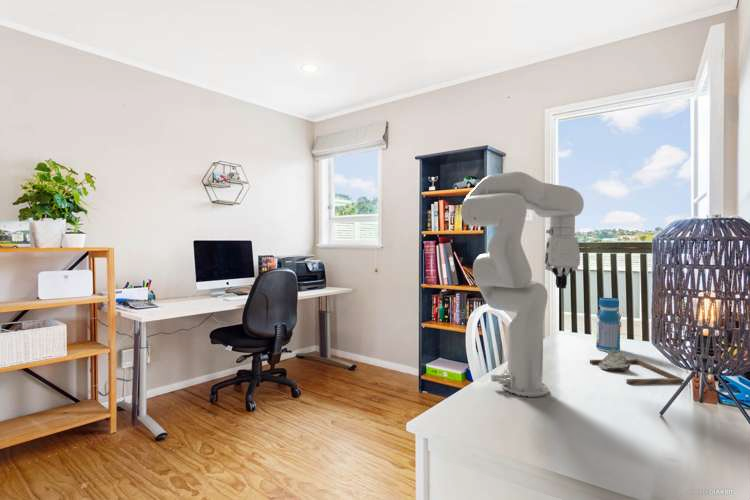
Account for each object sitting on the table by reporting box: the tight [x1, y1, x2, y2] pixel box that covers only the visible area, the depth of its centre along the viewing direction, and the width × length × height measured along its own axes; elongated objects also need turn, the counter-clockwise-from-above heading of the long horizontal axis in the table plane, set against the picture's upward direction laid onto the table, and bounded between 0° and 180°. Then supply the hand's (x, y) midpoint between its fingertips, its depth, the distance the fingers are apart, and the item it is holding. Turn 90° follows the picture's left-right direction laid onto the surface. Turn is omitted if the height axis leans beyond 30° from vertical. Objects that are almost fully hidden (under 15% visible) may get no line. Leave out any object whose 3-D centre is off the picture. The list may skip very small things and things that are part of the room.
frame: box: [589, 358, 685, 385], centre depth 133 cm, size 17×20×1 cm
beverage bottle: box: [595, 297, 622, 353], centre depth 159 cm, size 8×8×20 cm
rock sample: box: [597, 349, 631, 372], centre depth 136 cm, size 10×8×9 cm
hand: (561, 287), depth 136 cm, fingers closed
